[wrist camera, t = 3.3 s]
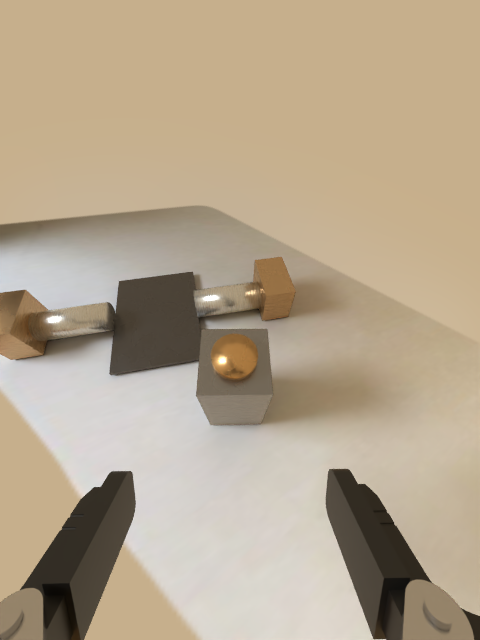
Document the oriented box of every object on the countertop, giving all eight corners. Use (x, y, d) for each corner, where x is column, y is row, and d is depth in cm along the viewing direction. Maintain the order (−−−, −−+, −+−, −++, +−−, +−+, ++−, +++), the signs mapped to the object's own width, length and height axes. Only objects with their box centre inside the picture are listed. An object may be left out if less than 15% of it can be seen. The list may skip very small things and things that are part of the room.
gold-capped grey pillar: (260, 424, 22) (274, 390, 13) (210, 424, 22) (194, 391, 13) (257, 376, 24) (268, 322, 16) (212, 376, 24) (200, 323, 16)
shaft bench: (-1, 394, 23) (-47, 377, 19) (33, 294, 29) (3, 268, 26) (297, 343, 26) (307, 321, 22) (269, 263, 32) (273, 236, 29)
